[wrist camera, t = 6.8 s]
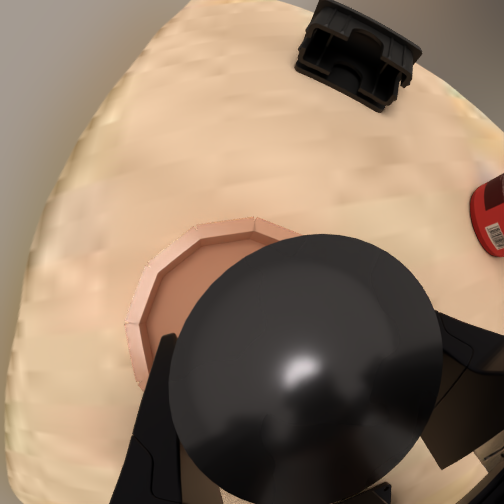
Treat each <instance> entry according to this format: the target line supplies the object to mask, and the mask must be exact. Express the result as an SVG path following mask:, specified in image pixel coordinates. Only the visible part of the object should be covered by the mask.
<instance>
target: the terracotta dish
mask: <svg viewBox="0 0 504 504" xmlns="http://www.w3.org/2000/svg"><path fill="white" fill-rule="evenodd" d="M196 226H197V230H196V228H195V227H194V226H193V227H192V228H190V229H189V230H188V231H186V232H185V233H184V234H183V235H181V236H180V237H179V238H177V239H176V240H175V241H174V242H172V243H171V244H170V245H169V246H167V247H166V248H165V249H164V250H162V251H161V252H160V253H159V254H157V255H156V256H155V257H154V258H152V259H151V260H150V261H149V262H147V263H148V264H149V266H150V267H149V266H146V265H145V267H144V270H143V272H142V275H141V277H140V280H139V283H138V285H137V288H136V291H135V293H134V296H133V299H132V301H131V304H130V307H129V310H128V313H127V315H126V318H125V321H126V322H129V323H127V324H125V330H126V336H127V341H128V346H129V352H130V356H131V361H132V366H133V370H134V375H135V379H136V382H140V381H141V382H140V383H139V384H138V386H139V387H140V388H141V389H142V390H143V391H144V390H145V387H146V383H147V380H148V377H149V373H150V370H151V367H152V364H153V361H154V357H155V354H156V351H157V348H158V345H159V342H160V339H161V337H162V336H163V335H166V334H169V333H175V334H176V336H177V338H178V337H179V334H180V332H181V330H182V327H183V325H184V323H185V321H186V319H187V317H188V316H189V314H190V312H191V311H192V309H193V308H194V306H195V304H196V303H197V301H198V300H199V299H200V297H201V296H202V295H203V294H204V293H205V291H206V290H207V289H208V288H209V286H210V285H211V284H212V283H213V282H214V281H215V280H216V279H218V278H219V277H220V276H221V275H222V274H223V273H224V272H225V271H226V270H227V269H228V268H230V267H231V266H233V265H234V264H235V263H237V262H238V261H240V260H241V259H242V258H244V257H245V256H247V255H249V254H251V253H253V252H255V251H257V250H259V249H260V248H262V247H264V246H267V245H270V244H273V243H275V242H278V241H281V240H284V239H288V238H293V237H297V236H302V235H301V234H299V233H296V232H294V231H291V230H289V229H286V228H283V227H281V226H278V225H276V224H273V223H271V222H268V221H266V220H263V219H260V218H258V217H257V218H256V220H254V217H248V218H241V219H233V220H226V221H219V222H212V223H205V224H199V225H196Z"/></svg>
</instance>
